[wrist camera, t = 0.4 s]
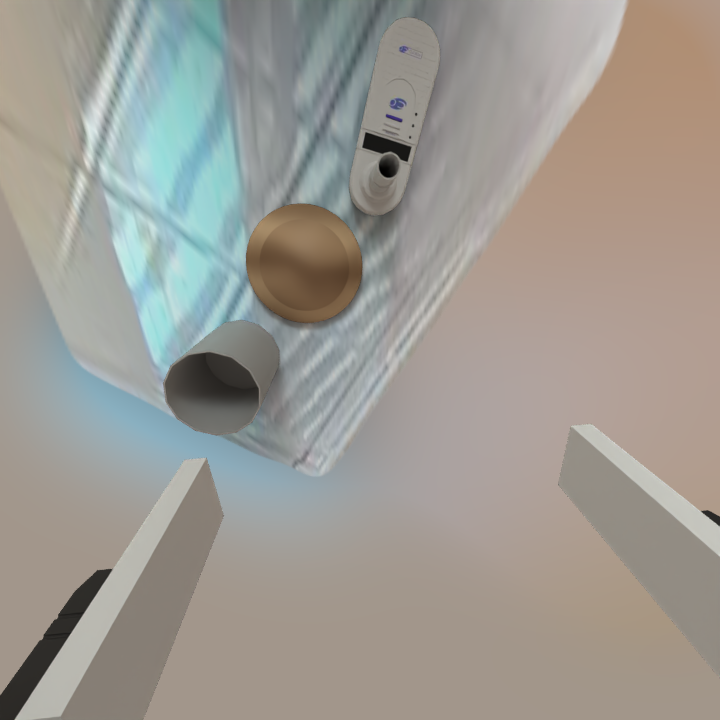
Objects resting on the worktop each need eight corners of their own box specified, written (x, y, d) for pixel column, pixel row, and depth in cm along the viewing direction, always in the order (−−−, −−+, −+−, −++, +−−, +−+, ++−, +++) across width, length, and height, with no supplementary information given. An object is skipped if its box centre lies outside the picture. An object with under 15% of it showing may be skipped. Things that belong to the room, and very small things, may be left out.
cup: (287, 332, 38) (270, 366, 29) (271, 394, 41) (251, 443, 31) (211, 311, 37) (168, 339, 27) (200, 376, 39) (158, 422, 30)
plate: (239, 206, 33) (236, 205, 32) (360, 202, 33) (360, 201, 32) (257, 323, 37) (255, 325, 36) (363, 318, 38) (364, 320, 37)
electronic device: (486, -41, 20) (412, 215, 25) (440, 46, 30) (393, 222, 34) (404, -76, 20) (344, 195, 24) (383, 25, 29) (343, 207, 34)
